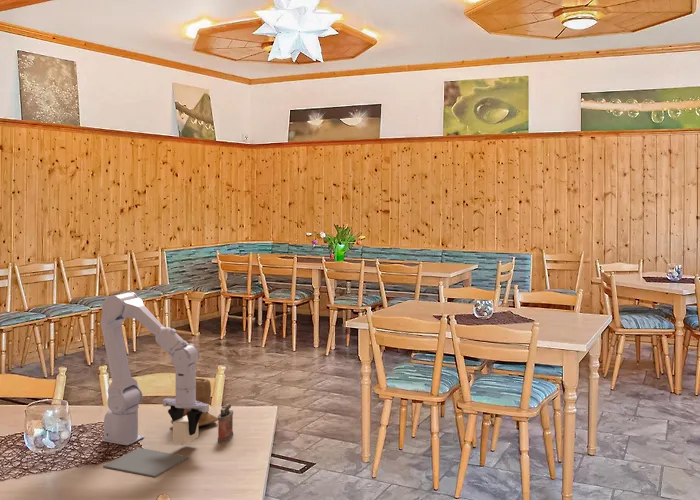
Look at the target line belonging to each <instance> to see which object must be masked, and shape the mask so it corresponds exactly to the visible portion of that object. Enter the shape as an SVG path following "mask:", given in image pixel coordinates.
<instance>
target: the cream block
mask: <svg viewBox="0 0 700 500" xmlns="http://www.w3.org/2000/svg"><path fill="white" fill-rule="evenodd" d="M197 438H199V427H198V424H197V428H196V432H195V434H193V435H189V422H188V417H187V415H186V416H184V417H182V418H180V419H178V420H176V421H174V422H173V424H172V443H175V444H181V445H186V444H188V443H190V442H192V441H193V440H195V439H197Z"/></svg>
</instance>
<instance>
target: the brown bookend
mask: <svg viewBox="0 0 700 500" xmlns="http://www.w3.org/2000/svg"><path fill="white" fill-rule="evenodd" d="M211 395H212V385H211V381H210V380H209V379H208V378H204V377H201V378H200V377H198V378H197V377H196V401H199V402H202V403H205V404H209V403H210V401H211ZM209 405H210V404H209ZM189 411H191V409H184V414H183V417H184V416H186V415H187V414H186V413H187V412H189ZM216 422H218V416H215V415H213V414H211V413H210V412H209V411H207V412H203V413H202V415H201V417H200V419H199V421H198V428H199V427H202V426H205V425H209V424H213V423H216ZM170 423H171V424H172V425H173V420H172V419H171V421H170Z"/></svg>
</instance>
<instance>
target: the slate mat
mask: <svg viewBox="0 0 700 500" xmlns="http://www.w3.org/2000/svg"><path fill="white" fill-rule="evenodd" d="M189 458H190V457H189V456H187V455H183V454H182V455H181V454H176V453H170V452H165V451H160V450H159V451H158V450H154V449H148V448H142V447H138V448H136V449H133V450H132V451H130V452H127V453H126V454H123V455H122V456H120V457H118V458H115V459H113V460H112V461H109V462H108V463H105V464H104V465H103V468H106V469H110V470H116V471H121V472H127V473H131V474H137V475H141V476H148V477H152V478H156V477H158V476H160V475H162V474H164V473H165V472H167V471H168V470H169V471H170V470H171V469H172V468H174V467H176V466H177V465H179V464H181V463H182V462H185V461H186V460H188V459H189Z"/></svg>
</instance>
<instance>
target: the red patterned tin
mask: <svg viewBox="0 0 700 500" xmlns="http://www.w3.org/2000/svg"><path fill="white" fill-rule="evenodd" d="M231 408H232V404H231V403H227V404H225V405H222V406H221V409H220V413H219V414H218V415H217V418H218V421H217V422H218V423H217V425H218V426H217V431H218V432H217V433H218V434H217V442H218V443H226V442H228V441H229V440H231V439H232V438H233V437H234V431H233V422H234V419H233V418H234V417H233V415H234V410H231Z"/></svg>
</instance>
